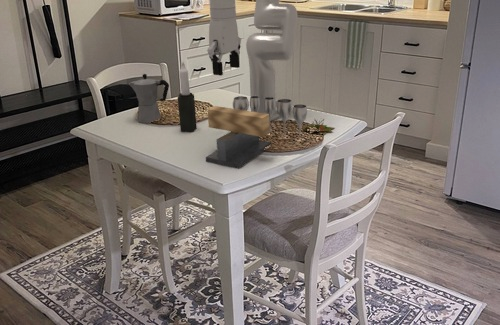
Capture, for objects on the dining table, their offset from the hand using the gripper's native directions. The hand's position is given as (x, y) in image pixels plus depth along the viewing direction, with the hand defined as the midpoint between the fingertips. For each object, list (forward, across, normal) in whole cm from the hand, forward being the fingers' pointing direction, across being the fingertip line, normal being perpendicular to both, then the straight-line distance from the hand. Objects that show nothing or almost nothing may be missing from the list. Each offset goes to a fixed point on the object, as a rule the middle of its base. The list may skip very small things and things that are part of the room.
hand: (226, 71), depth 155 cm
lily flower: (+27, -27, +19) cm, 43 cm away
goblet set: (+26, -16, +6) cm, 31 cm away
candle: (+26, -8, -23) cm, 36 cm away
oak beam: (+18, +3, +5) cm, 19 cm away
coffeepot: (+26, -12, -43) cm, 52 cm away
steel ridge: (+26, +4, +5) cm, 26 cm away
